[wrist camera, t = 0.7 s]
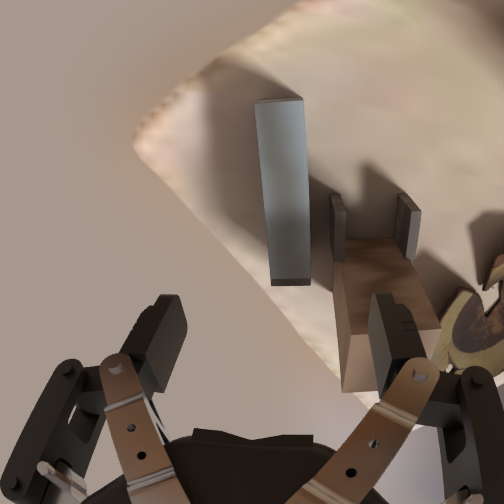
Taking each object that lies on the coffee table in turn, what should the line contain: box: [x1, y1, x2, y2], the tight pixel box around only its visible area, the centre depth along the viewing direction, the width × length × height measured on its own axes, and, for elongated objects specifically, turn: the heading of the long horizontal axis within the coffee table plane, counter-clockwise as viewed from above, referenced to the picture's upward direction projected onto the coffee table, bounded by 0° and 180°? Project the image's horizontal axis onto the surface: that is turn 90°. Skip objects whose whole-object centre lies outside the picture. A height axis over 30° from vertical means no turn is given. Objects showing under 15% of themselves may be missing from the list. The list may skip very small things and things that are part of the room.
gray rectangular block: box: [254, 97, 311, 286], centre depth 28 cm, size 4×16×6 cm, turn 6°
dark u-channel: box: [330, 194, 442, 393], centre depth 27 cm, size 8×12×14 cm, turn 6°
